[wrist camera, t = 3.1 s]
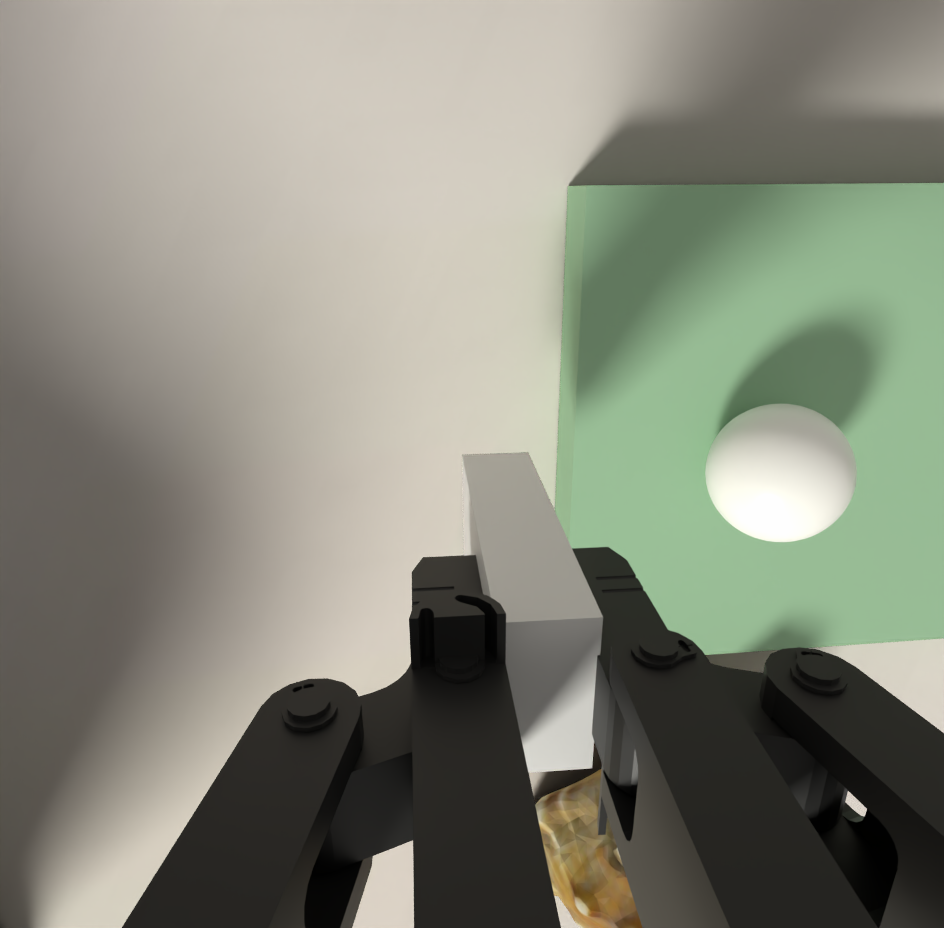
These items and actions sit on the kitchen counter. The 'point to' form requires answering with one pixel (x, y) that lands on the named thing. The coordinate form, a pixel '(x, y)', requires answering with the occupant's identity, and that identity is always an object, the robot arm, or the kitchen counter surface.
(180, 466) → the kitchen counter surface
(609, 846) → the seashell
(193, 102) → the kitchen counter surface
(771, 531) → the ball
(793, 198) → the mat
